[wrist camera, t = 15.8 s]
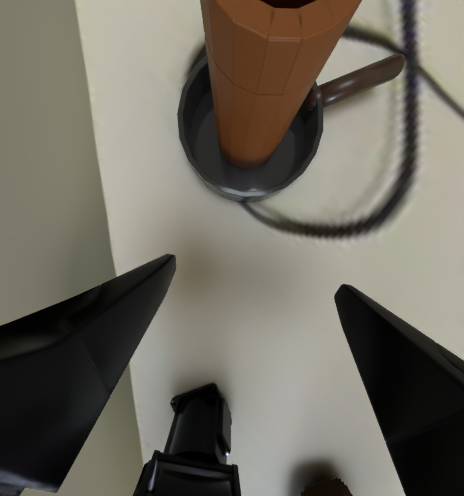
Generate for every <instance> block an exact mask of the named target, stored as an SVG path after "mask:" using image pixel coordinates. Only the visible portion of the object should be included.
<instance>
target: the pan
mask: <svg viewBox="0 0 464 496" xmlns="http://www.w3.org/2000/svg"><path fill="white" fill-rule="evenodd" d="M317 87H318V86H317V83H316V81H315V82H314V84H313V86H312V87H311V89H310V91H313V92H314V91H315V89H316V88H317ZM310 91H309V92H310ZM308 94H309V93H308ZM308 94H307V96H308ZM307 96H306V98H307ZM306 98H305V100H304V101H303V103H302V105H301V106H300V108H299V110H298V112H297V113H296V115H295V117H294V119H293V120H292V122H291V124H290V125H289V127H288V129H287V131H286V132H285V134H284V136H283V138H282V139H281V141H280V143H279V144H278V146H277V148H276V150H275V151H274V153H273V155H272V156H271V157H270V158H269V159H268V161H267V162H265V163H264V164H263V165H261V166H259V167H257V168H253V169H242V168H238V167H236V166H234V165H232V164H231V163H230V162H229V161H228V160H227V159H226V158H225V157H224V155H223V154H222V151H221V149H220V145H219V142H218V135H217V127H216V119H215V112H214V104H213V96H212V88H211V81H210V73H209V65H208V57H207V56H206V57H205V58H204V59H203V60H201V61H200V62H199V63H198V64H197V65H196V66H195V67H194V69H193V71H192V73H191V74H190V76H189V78H188V80H187V82H186V83H185V85H184V87H183V89H182V94H181V99H180V103H179V108H178V114H177V115H178V126H179V138H180V141H181V143H182V146H183V148H184V151H185V153H186V156H187V158H188V161H189V162H190V164H191V166H192V167H193V169H194V171H195V172H196V173H197V174H198V176H199V177H200V178H201V180H202V181H203V182H204V183H205V184H206V186H207V187H209V188H210V189H211V190H213V191H214V192H215V193H217V194H219V195H221V196H222V197H225V198H227V199H230V200H234V201H238V202H255V201H260V200H263V199H267V198H269V197H271V196H273V195H276V194H278V193H279V192H281V191H282V190H283V189H285V188H286V187H287V186H288V185H290V184H291V183H292V182H293V181H294V180H296V179H297V178H298V177H299V176H301V175H302V174H303V173H304V171H305V170H306V168H307V167H308V165H309V164H310V162H311V161H312V159H313V158H314V156H315V155H316V152H317V149H318V146H319V142H320V139H321V136H322V132H323V103H322V100H317V99H316V104H315V107H314V109H313V110H312V111H310V110H309V109H308V108H307V106H306Z"/></svg>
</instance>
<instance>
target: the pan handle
mask: <svg viewBox="0 0 464 496" xmlns="http://www.w3.org/2000/svg"><path fill="white" fill-rule="evenodd" d="M404 65H405V57H404V56H403V55H402V54H395V55H392V56H390V57H387V58H385V59H382V60H380V61H378V62H375V63H373V64H370V65H368V66H365V67H363V68H361V69H358V70H356V71H353V72H351V73H349V74H346V75H344V76H341V77H339V78H336V79H334V80H332V81H329V82H327V83H324V84H322V85H319V86H318V87H317V88H316V89H315V91H314V92H313V91H310V92H309V94H308V96H307V98H306V106H307V108H308V109H309V110H310V111H312V110H313V109H314V107H315V104H316V99H317V100H322V103H323V108H324V107H327V106H329V105H332V104H334V103H336V102H339V101H341V100H344V99H346V98H349V97H351V96H354V95H356V94H358V93H361V92H363V91H366V90H368V89H371V88H373V87H376V86H378V85H380V84H383V83H385V82H388V81H390V80H392V79H394V78H395V77H396V76H398V75H399V73H400V72H401V71H402V69H403V67H404Z"/></svg>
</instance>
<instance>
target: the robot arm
mask: <svg viewBox="0 0 464 496" xmlns="http://www.w3.org/2000/svg"><path fill="white" fill-rule="evenodd" d="M175 270H176V257H175V255H172V254H166V255H163V256H161V257H159V258H157V259H155V260H153V261H150V262H148V263H146V264H144V265H142V266H140V267H138V268H135V269H133V270H131V271H129V272H127V273H125V274H122V275H120V276H118V277H116V278H114V279H112V280H110V281H107V282H105V283H103V284H101V286H100V285H99V286H97V287H94V288H92V289H90V290H88V291H86V292H83V293H81V294H79V295H77V296H74V297H72V298H70V299H67V300H65V301H62V302H60V303H57V304H55V305H52V306H50V307H47V308H45V309H42V310H40V311H37V312H35V313H32V314H30V315H27V316H25V317H22V318H20V319H17V320H15V321H12V322H9V323H7V324H4V325H1V326H0V496H20V494H21V493H22V491H23V490H24V488H30V489H37V490H42V491H49V492H54V493H56V492H57V491H58V490H59V488H60V486H61V484H62V483H63V481H64V479H65V477H66V476H67V474H68V472H69V470H70V468H71V467H72V465H73V463H74V461H75V459H76V457H77V456H78V454H79V452H80V450H81V448H82V447H83V445H84V443H85V441H86V439H87V438H88V436H89V434H90V432H91V430H92V428H93V427H94V425H95V423H96V421H97V419H98V418H99V416H100V414H101V412H102V410H103V408H104V407H105V405H106V403H107V401H108V399H109V398H110V395H111V394H112V392H113V390H114V388H115V386H116V385H117V383H118V381H119V379H120V377H121V375H122V373H123V372H124V370H125V368H126V366H127V364H128V363H129V361H130V359H131V357H132V356H133V354H134V352H135V350H136V348H137V346H138V345H139V343H140V341H141V339H142V337H143V336H144V334H145V332H146V330H147V328H148V326H149V325H150V323H151V321H152V319H153V317H154V316H155V314H156V312H157V310H158V308H159V306H160V305H161V303H162V301H163V299H164V297H165V295H166V293H167V291H168V288H169V286H170V283H171V281H172V278H173V276H174V273H175ZM334 299H335V303H336V307H337V311H338V314H339V318H340V322H341V325H342V328H343V331H344V334H345V336H346V339H347V342H348V344H349V347H350V349H351V352H352V355H353V357H354V360H355V363H356V365H357V368H358V371H359V373H360V376H361V378H362V381H363V384H364V386H365V389H366V392H367V394H368V397H369V400H370V402H371V405H372V407H373V410H374V413H375V415H376V418H377V421H378V423H379V426H380V429H381V431H382V434H383V436H384V439H385V441H386V445H387V447H388V450H389V453H390V455H391V458H392V461H393V463H394V466H395V469H396V471H397V474H398V476H399V479H400V482H401V484H402V487H403V490H404V492H405V495H406V496H464V361H463V360H462V359H460V358H459V357H457V356H456V355H454V354H453V353H451V352H450V351H448V350H447V349H445V348H444V347H442V346H441V345H439V344H438V343H436V342H435V341H433V340H432V339H430V338H429V337H427V336H426V335H424V334H423V333H422V332H420V331H419V330H417V329H416V328H414V327H413V326H411V325H410V324H408V323H407V322H405V321H404V320H402V319H401V318H399V317H398V316H396V315H395V314H393V313H392V312H390V311H389V310H387V309H386V308H384V307H383V306H381V305H380V304H378V303H377V302H375V301H374V300H372V299H371V298H369V297H368V296H366V295H365V294H364V293H362V292H361V291H359V290H358V289H356V288H355V287H353V286H351V285H347V284H342V285H341V286H340V288H339V289H338V291H337V292H336V294H335V296H334ZM170 404H171V406H172V408H173V411H174V413H175V415H174V419H173V422H172V425H171V429H170V432H169V436H168V439H167V442H166V446H165V449H164V452H163V453H161V452H160V451H158V450H155V451H154V454H153V456H152V459H151V460H149V462H148V463H146V464H145V465H144V467H143V470H142V473H141V476H140V479H139V481H138V484H137V486H136V489H135V491H134V494H133V496H241V490H240V482H239V474H238V466H237V465H235V464H232V465H227V464H226V458H227V455H228V454H230V451H231V424H232V419H231V413H230V411H229V409H228V406H227V404H226V402H225V400H224V398H223V397H221V394H220V392H219V390H218V388H217V385H216V384H214V383H212V384H209V385H206V386H204V387H201V388H198V389H195V390H193V391H190V392H187V393H184V394H182V395H179V396H176V397H174V398H172V400H171V403H170Z"/></svg>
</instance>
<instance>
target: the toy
mask: <svg viewBox="0 0 464 496" xmlns="http://www.w3.org/2000/svg"><path fill="white" fill-rule="evenodd" d="M301 496H352V494H351V493H350V491H349V489H348V487H347V485H345V484H344V482H342V481H341V479H338V478H335V479H332V480H329V478H328V479H325V480H323V481H320V482H317V483H314V484H311V485H309V486H306V487H305V489H304V492H301Z"/></svg>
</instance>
